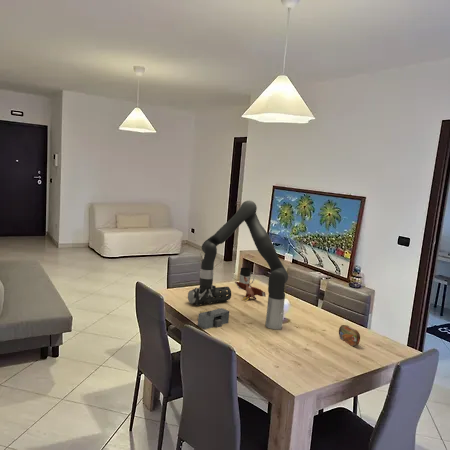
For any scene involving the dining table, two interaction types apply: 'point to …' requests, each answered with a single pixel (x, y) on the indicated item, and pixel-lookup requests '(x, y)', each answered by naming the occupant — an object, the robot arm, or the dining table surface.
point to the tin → (349, 335)
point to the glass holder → (245, 275)
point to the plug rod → (215, 320)
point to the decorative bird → (250, 290)
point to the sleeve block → (212, 317)
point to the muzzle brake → (217, 298)
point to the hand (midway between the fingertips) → (203, 304)
